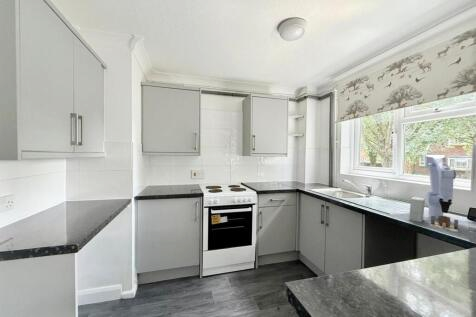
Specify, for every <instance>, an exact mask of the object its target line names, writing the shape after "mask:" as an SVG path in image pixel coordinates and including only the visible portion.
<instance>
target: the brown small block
mask: <svg viewBox="0 0 476 317" xmlns="http://www.w3.org/2000/svg"><path fill="white" fill-rule="evenodd" d="M437 220H438V221H437V222H438V224H442V223H446V225H447V226H450V224H451V217H450V216H446V215H443V216H439V218H438V219H437Z"/></svg>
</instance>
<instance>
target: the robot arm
mask: <svg viewBox="0 0 476 317" xmlns="http://www.w3.org/2000/svg"><path fill="white" fill-rule="evenodd" d="M446 161H447V157H446V156H445V154H443V155H439V154H438V155H437V154H426V155H425V156H424V166H425V168H427V170H428V171H429V182H430V191H428V192H427V193H426V195H425V203H426V204H427V205H428V211H427V212H428V214H427V215H428V217H429V218H431V216H435V220H438V218H439V216H444V213H445V214H448V213H449V209H450V206H452V204H453V202H452V201H453V199H454V197H453V193H454V180H456V177H457V172H456V170H455V169H451V167H450V166H449V164H447V163H446Z"/></svg>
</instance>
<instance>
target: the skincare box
mask: <svg viewBox="0 0 476 317" xmlns="http://www.w3.org/2000/svg"><path fill="white" fill-rule="evenodd" d="M425 203H426V198H423V197H417V196H413V197H412V198H410V207H409V216H408V218H409V219H408V220H409V221H413V222H418V223H419V222H420V223H422V222H423V220H424V214H425Z"/></svg>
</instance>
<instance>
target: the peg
mask: <svg viewBox="0 0 476 317" xmlns="http://www.w3.org/2000/svg"><path fill="white" fill-rule="evenodd" d="M440 228H441V229H440ZM438 229H440V230H444V229H445V231H449V228H446V223H442V227H439V228H438Z"/></svg>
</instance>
